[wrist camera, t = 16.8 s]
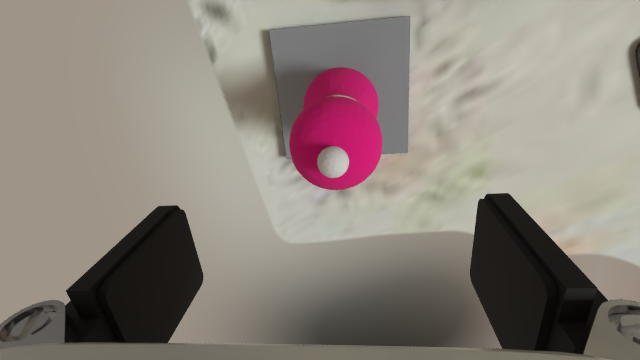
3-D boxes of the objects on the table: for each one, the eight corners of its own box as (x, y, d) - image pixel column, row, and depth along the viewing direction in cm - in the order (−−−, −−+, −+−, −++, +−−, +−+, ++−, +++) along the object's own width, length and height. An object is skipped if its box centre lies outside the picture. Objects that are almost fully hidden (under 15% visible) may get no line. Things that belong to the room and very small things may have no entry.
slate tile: (270, 29, 35) (268, 29, 34) (408, 16, 33) (410, 15, 32) (287, 156, 40) (286, 159, 39) (406, 149, 39) (407, 152, 38)
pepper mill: (371, 133, 37) (390, 232, 19) (307, 128, 38) (265, 219, 20) (380, 65, 34) (412, 105, 16) (310, 60, 35) (265, 94, 17)
